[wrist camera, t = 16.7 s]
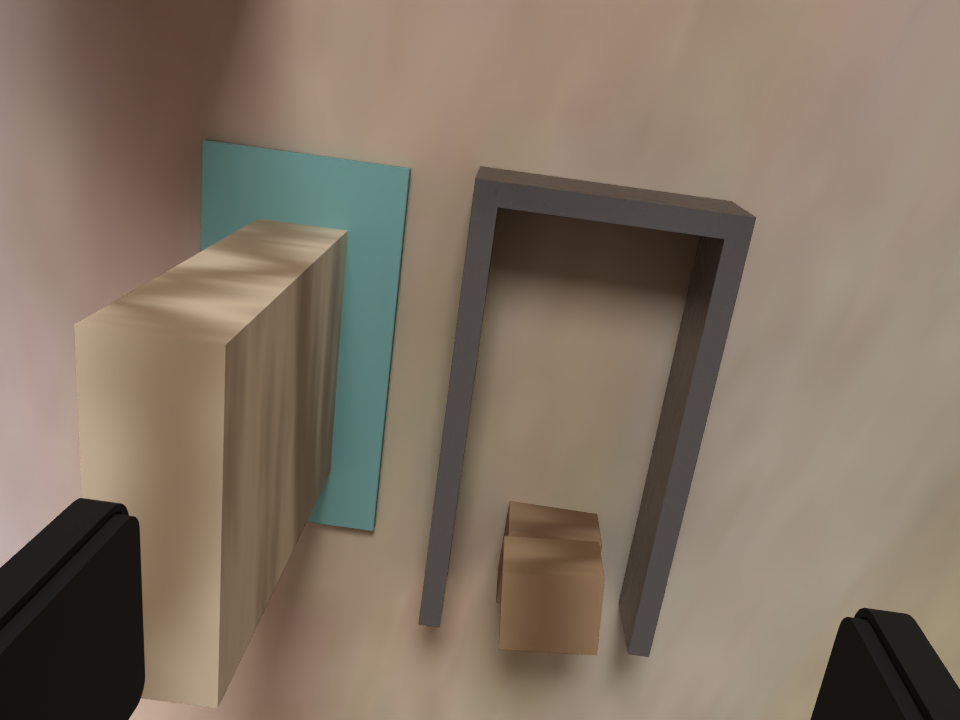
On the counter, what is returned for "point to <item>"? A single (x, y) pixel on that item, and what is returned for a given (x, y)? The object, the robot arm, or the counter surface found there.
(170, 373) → the wooden block
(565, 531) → the offcut lower
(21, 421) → the counter surface
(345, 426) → the mat
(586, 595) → the offcut upper
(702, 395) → the bracket
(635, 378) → the counter surface
